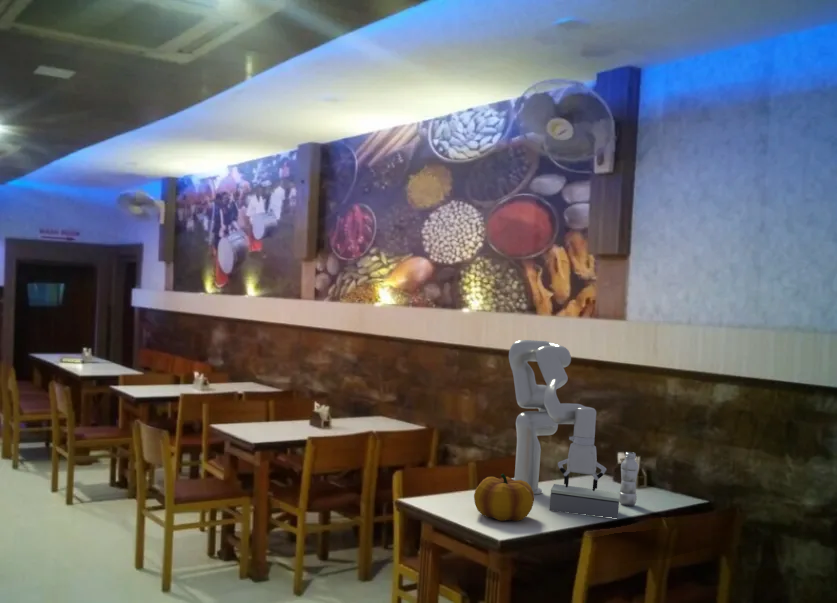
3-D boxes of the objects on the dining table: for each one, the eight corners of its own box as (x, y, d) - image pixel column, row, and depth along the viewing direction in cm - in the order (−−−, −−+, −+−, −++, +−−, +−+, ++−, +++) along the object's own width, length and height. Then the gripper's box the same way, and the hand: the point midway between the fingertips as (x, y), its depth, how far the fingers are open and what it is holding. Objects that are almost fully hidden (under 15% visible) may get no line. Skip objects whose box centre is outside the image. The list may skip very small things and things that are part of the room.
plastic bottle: (636, 508, 294) (640, 455, 294) (618, 505, 295) (622, 453, 295) (635, 504, 300) (639, 452, 300) (617, 501, 301) (621, 450, 301)
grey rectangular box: (549, 510, 281) (550, 493, 281) (552, 502, 292) (553, 486, 292) (617, 519, 274) (618, 502, 274) (618, 511, 286) (619, 495, 286)
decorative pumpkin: (511, 529, 252) (514, 483, 252) (459, 513, 267) (462, 470, 267) (546, 520, 267) (549, 476, 267) (495, 505, 282) (498, 464, 282)
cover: (550, 492, 281) (550, 489, 281) (553, 486, 292) (554, 483, 292) (618, 501, 274) (619, 498, 274) (619, 495, 286) (619, 492, 286)
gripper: (558, 439, 280) (555, 487, 280) (607, 445, 275) (604, 494, 275) (560, 437, 287) (557, 483, 287) (608, 442, 282) (605, 489, 282)
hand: (580, 488), depth 281 cm, fingers open, 9 cm apart
